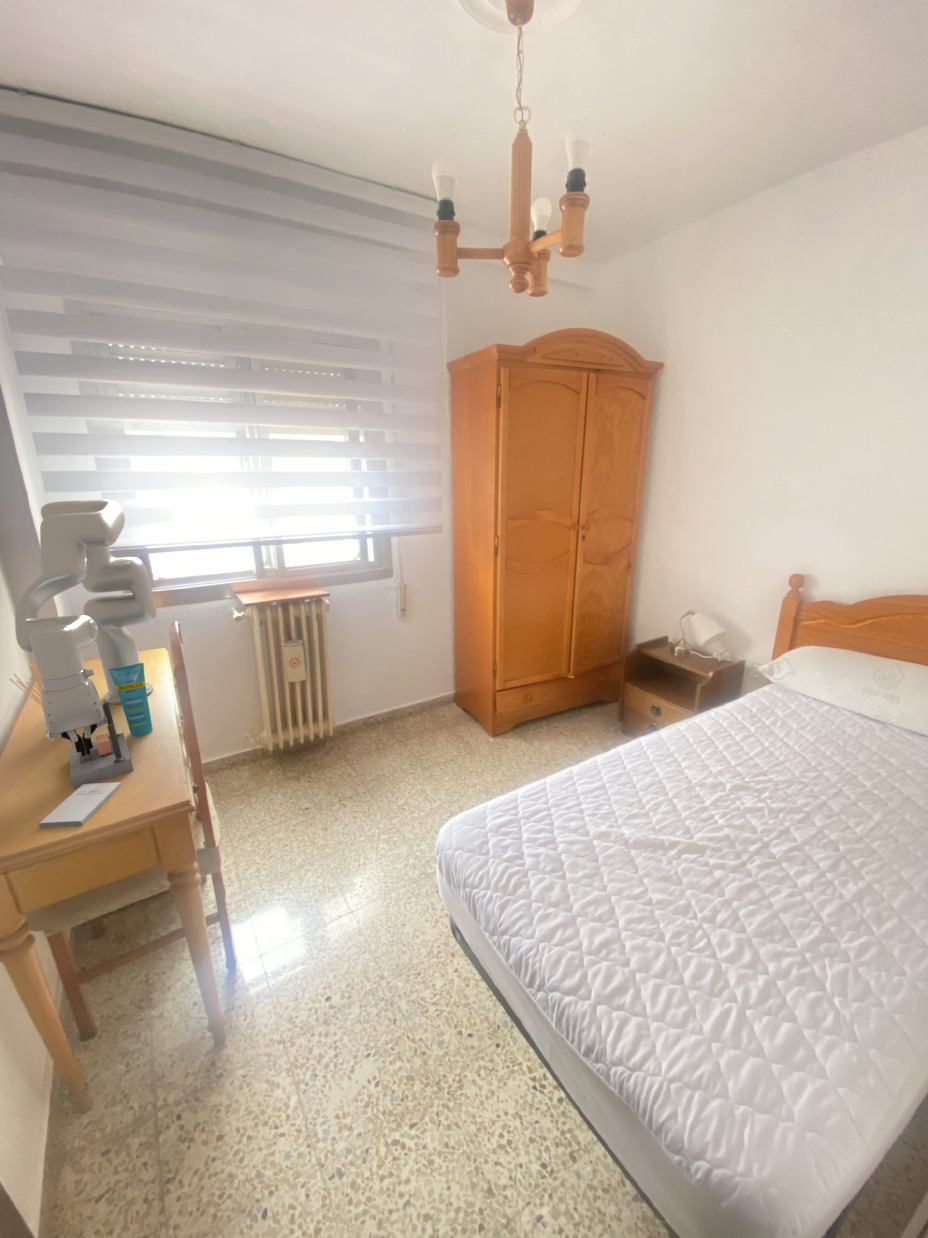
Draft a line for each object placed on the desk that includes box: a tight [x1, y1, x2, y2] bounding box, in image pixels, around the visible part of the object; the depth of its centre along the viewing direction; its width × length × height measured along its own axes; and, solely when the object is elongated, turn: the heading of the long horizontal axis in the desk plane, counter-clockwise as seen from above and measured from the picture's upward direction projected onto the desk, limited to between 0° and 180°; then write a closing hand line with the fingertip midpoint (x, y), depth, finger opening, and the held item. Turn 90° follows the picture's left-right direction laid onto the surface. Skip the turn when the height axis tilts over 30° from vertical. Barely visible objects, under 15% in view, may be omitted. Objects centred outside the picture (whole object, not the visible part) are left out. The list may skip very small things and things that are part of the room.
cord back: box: [102, 702, 117, 733], centre depth 121 cm, size 1×1×8 cm
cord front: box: [107, 724, 122, 758], centre depth 111 cm, size 1×1×8 cm
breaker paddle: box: [94, 733, 112, 756], centre depth 116 cm, size 4×2×3 cm, turn 39°
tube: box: [108, 662, 153, 737], centre depth 127 cm, size 7×5×19 cm, turn 123°
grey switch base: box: [68, 732, 134, 790], centre depth 116 cm, size 16×11×3 cm
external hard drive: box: [38, 781, 122, 829], centre depth 102 cm, size 2×8×12 cm
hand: (86, 752), depth 114 cm, fingers closed
